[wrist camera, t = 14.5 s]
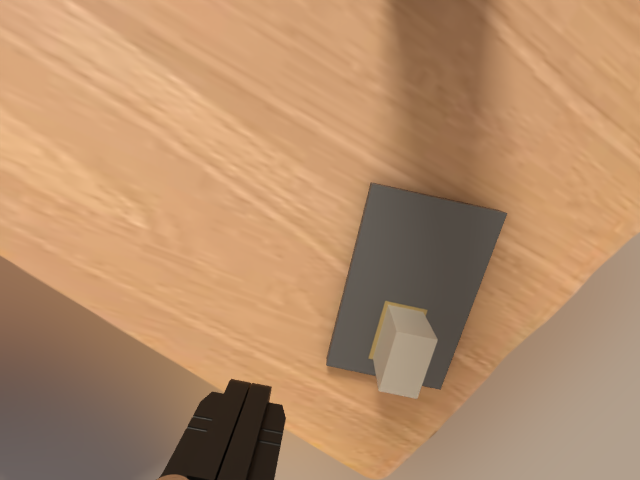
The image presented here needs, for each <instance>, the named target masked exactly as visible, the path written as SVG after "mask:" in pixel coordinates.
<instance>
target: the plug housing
mask: <svg viewBox="0 0 640 480" xmlns="http://www.w3.org/2000/svg"><path fill="white" fill-rule="evenodd" d="M437 341H438V339H437V337H436V335H435V334H434V332H433V330H432V328H431V326H430V324H429V322H428V320H427V318H426V316H425V314H424V313H423V312H421V311H416V310H412V309H407V308H402V307H397V306H392V305H388V307H387V310H386V314H385V317H384V320H383V324H382V327H381V331H380V334H379V338H378V341H377V345H376V348H375V352H374V355H373V361H374V367H375V373H376V379H377V385H378V391H381V392H386V393H390V394H395V395H400V396H405V397H410V398H415V399H417V398H418V395H419V392H420V389H421V387H422V384H423V381H424V378H425V375H426V372H427V369H428V367H429V364H430V361H431V358H432V355H433V352H434V349H435V346H436V344H437Z"/></svg>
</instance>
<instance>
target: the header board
mask: <svg viewBox="0 0 640 480" xmlns="http://www.w3.org/2000/svg"><path fill="white" fill-rule="evenodd" d="M506 215H507V213H505V212H502V211H499V210H495V209H490V208H486V207H481V206H477V205H472V204H467V203H463V202H458V201H454V200H449V199H444V198H440V197H435V196H431V195H426V194H421V193H417V192H412V191H408V190H403V189H399V188H394V187H389V186H385V185H380V184H376V183H371V184H370V188H369V192H368V196H367V200H366V204H365V208H364V212H363V216H362V220H361V224H360V228H359V232H358V236H357V240H356V243H355V247H354V251H353V255H352V259H351V263H350V267H349V271H348V275H347V279H346V283H345V287H344V291H343V295H342V299H341V303H340V307H339V311H338V315H337V319H336V323H335V327H334V331H333V335H332V339H331V343H330V347H329V351H328V355H327V363H326V365H327V366H331V367H336V368H341V369H345V370H350V371H355V372H360V373H364V374H369V375H374V376H376V373H375V367H374V361H373V355H374V352H375V348H376V345H377V341H378V338H379V334H380V331H381V327H382V324H383V320H384V317H385V314H386V310H387V307H388V305H392V306H397V307H402V308H407V309H412V310H416V311H421V312H423V313H424V314H425V316H426V318H427V320H428V322H429V324H430V326H431V328H432V330H433V332H434V334H435V335H436V337H437V339H438V341H437V344H436V346H435V349H434V352H433V355H432V358H431V361H430V364H429V367H428V369H427V372H426V375H425V378H424V381H423V384H422V386H426V387H430V388H435V389H441V387H442V384H443V382H444V379H445V376H446V374H447V371H448V368H449V366H450V363H451V360H452V358H453V355H454V353H455V350H456V347H457V345H458V342H459V339H460V337H461V334H462V331H463V329H464V326H465V323H466V321H467V318H468V316H469V313H470V310H471V308H472V305H473V302H474V300H475V297H476V294H477V292H478V289H479V287H480V284H481V281H482V279H483V276H484V273H485V271H486V268H487V265H488V263H489V260H490V258H491V255H492V252H493V250H494V247H495V244H496V242H497V239H498V236H499V234H500V231H501V229H502V226H503V223H504V221H505V218H506Z"/></svg>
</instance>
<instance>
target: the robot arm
mask: <svg viewBox="0 0 640 480" xmlns="http://www.w3.org/2000/svg"><path fill="white" fill-rule="evenodd" d="M271 388H272V387H271V386H265V385H260V384H255V383H252V384H251V383H249V382H244V381H239V380H234V379H231V380H230V381H229V383H228V386H227V388H226V390H225V392H224V394H222V393H217V392H211V393H210V394H209V395H208V396H207V397H205V398H204V399H203V400H202V401H201V402H200V404H199V406H198V407H197V410H196V411H195V413H194V415H193V418H192V419H191V421H190V423H189V424H188V427H187V429H186V430H185V432H184V434H183V436H182V438H181V439H180V441H179V444H178V445H177V447H176V449H175V451H174V453H173V455H172V457H171V458H170V460H169V462H168V464H167V466H166V468H165V470H164V472H163V473H162V475H161V476H160V477H159V478H158V479H156V480H274V477H275V472H276V467H277V461H278V456H279V451H280V445H281V440H282V435H283V430H284V425H285V420H286V417H285V413H284V410H283V406H282V405H279V404H274V403H269V400H270V394H271Z"/></svg>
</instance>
